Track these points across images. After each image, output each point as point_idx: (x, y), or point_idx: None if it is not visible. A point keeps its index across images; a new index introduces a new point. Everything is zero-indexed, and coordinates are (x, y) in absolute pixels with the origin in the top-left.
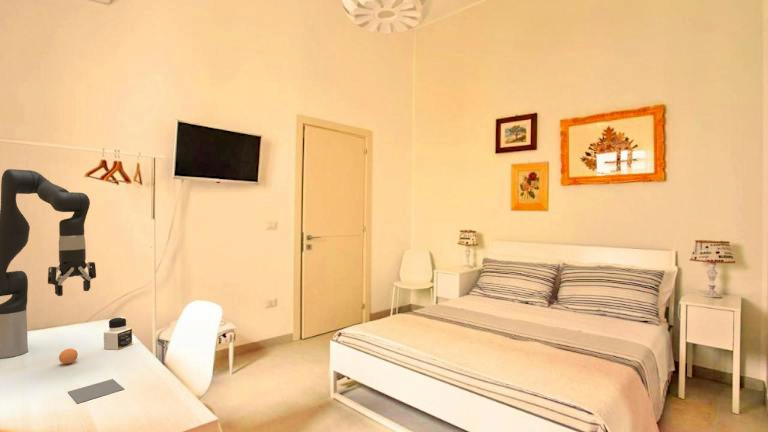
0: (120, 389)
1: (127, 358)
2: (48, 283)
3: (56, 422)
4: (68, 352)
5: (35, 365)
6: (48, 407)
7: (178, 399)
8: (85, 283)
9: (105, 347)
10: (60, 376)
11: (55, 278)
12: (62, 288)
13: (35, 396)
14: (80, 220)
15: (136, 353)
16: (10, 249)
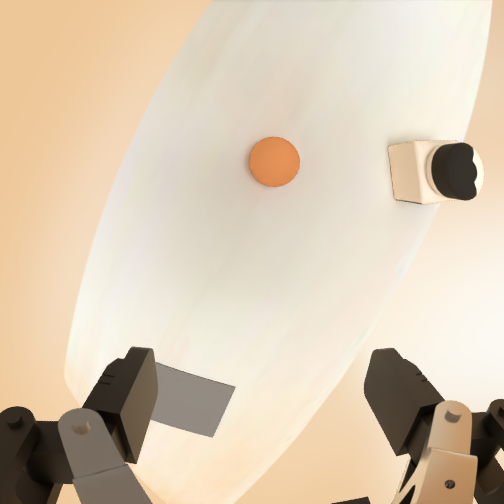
0: (207, 434)
1: (349, 295)
2: (10, 414)
3: None
4: (266, 177)
5: (228, 82)
6: None
7: (223, 498)
8: (396, 419)
9: (390, 152)
10: (198, 250)
11: None
12: (143, 437)
13: (115, 318)
14: None
15: (384, 281)
16: None
